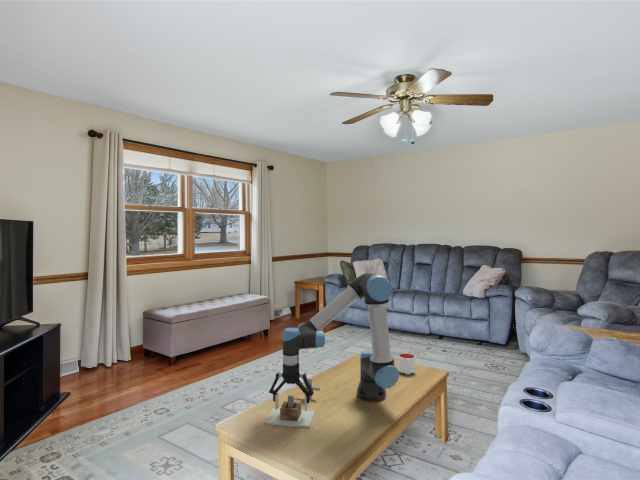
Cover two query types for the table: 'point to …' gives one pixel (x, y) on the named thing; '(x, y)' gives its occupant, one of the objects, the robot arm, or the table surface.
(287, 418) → the collar
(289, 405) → the post stand
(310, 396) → the pipe connector
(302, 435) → the table surface
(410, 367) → the cup
